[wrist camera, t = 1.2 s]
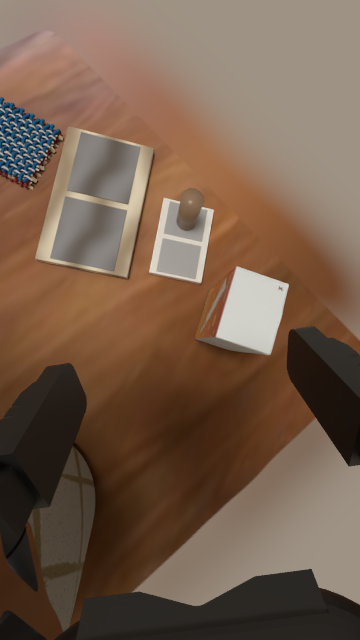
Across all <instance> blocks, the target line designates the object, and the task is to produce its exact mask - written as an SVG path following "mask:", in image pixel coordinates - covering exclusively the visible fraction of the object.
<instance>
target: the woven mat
mask: <svg viewBox="0 0 360 640" xmlns="http://www.w3.org/2000/svg"><path fill="white" fill-rule="evenodd" d="M3 101H4V98H3V97H1V98H0V175H3V176H4V177H6V178H7V177H8V178H9V179H10V181H11V182H13V181H14V182H16V183H17V182H18V183H19V185H20V186H24V187H25V188H30V189H33V188H34V187H33V186H31V185H30V184H31V183H32V182H34V183H36V182H37V181H38V180H37V179H36V176H38V177H41V176H42V175H41V174H39V173H38V172H37V171H39V170H40V171H44V166H41V165H42V164H44V165H46V164H47V161H45V160H47V158H49V159H50V157H51V156H50V155H48V154H51V152H52V153H55V152H56V150H55V149H54V146H55V147H57V148H59V146H58V145H56V144H55V143H56V141H57V140H58V141H63V137H62V136H60V134H61V131H60V130H59V129H57V130H53V128H54V125H53V124H51V126H50V124H48V123H47V125H46V123H44V122H45V121H44V119H41V120H40V119H38V118H37V120H36V119H34V120H33V118H34V117H35V115H34V114H31V115H30V114H29V113H27V114H26V113H24V114H23V112H24V111H25V110H24V109H23V108H21V109H20V108H18V107H17V108H16V107H14V106H15V105H14V103H11V104H10V103H9V102H7V103H4V105H3ZM13 107H14V108H13ZM16 113H17V114H16ZM20 129H22V130H20ZM46 129H47V130H46ZM2 145H3V146H2ZM50 145H51V146H50ZM46 157H47V158H46Z"/></svg>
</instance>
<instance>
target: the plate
mask: <svg viewBox="0 0 360 640" xmlns="http://www.w3.org/2000/svg"><path fill="white" fill-rule="evenodd" d="M203 202H204V198H203V195H202V193H201V192H200V191H199V190H197V189H194V188H190V189H187V190H185V191H184V192H183V193H182V196H181V200H180V202H179V201H175V200H171V199H166V198H164V200H163V205H162V210H161V215H160V221H159V226H158V231H157V236H156V241H155V246H154V251H153V256H152V261H151V266H150V271H149V274H151V275H156V276H161V277H166V278H171V279H176V280H180V281H185V282H190V283H195V284H201V282H202V276H203V270H204V264H205V259H206V253H207V247H208V241H209V235H210V230H211V224H212V218H213V212H214V210H212V209H208V208H204V207H202V205H203Z"/></svg>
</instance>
